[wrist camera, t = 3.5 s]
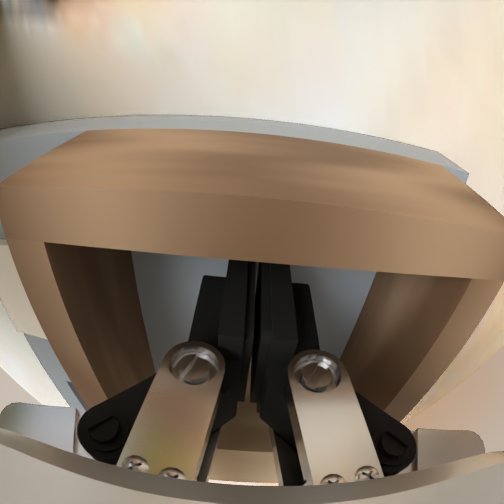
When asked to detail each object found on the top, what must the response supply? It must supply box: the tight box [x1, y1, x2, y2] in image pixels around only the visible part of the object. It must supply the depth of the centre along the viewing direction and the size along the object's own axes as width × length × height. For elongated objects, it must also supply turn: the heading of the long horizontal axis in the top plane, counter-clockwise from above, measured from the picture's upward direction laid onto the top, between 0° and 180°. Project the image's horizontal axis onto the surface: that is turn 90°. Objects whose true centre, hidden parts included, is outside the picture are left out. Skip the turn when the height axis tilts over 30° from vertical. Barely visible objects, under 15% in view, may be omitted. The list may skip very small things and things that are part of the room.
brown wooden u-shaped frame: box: [0, 129, 504, 422], centre depth 11 cm, size 11×15×4 cm
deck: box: [0, 115, 469, 411], centre depth 16 cm, size 20×24×3 cm
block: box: [209, 353, 278, 483], centre depth 13 cm, size 5×5×5 cm
